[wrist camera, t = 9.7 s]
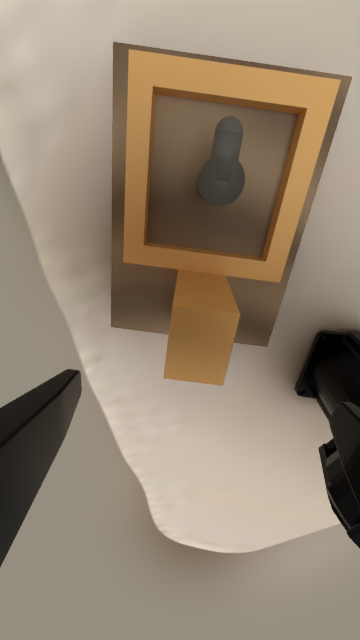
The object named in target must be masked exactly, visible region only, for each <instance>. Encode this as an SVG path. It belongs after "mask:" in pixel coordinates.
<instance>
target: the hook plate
mask: <svg viewBox="0 0 360 640" xmlns="http://www.w3.org/2000/svg"><path fill="white" fill-rule="evenodd" d="M129 49H131V50H138V51H145V52H152V53H159V54H166V55H173V56H180V57H186V58H193V59H200V60H207V61H214V62H221V63H228V64H235V65H242V66H249V67H255V68H262V69H269V70H276V71H283V72H290V73H297V74H304V75H311V76H318V77H324V78H331V79H338V80H341V82H340V85H339V89H338V92H337V95H336V99H335V102H334V105H333V108H332V112H331V115H330V118H329V122H328V125H327V128H326V132H325V135H324V138H323V142H322V145H321V148H320V151H319V155H318V158H317V161H316V165H315V168H314V171H313V175H312V178H311V181H310V185H309V188H308V191H307V195H306V198H305V201H304V204H303V208H302V211H301V214H300V218H299V221H298V224H297V228H296V231H295V234H294V238H293V241H292V244H291V247H290V251H289V254H288V257H287V261H286V264H285V267H284V271H283V274H282V277H281V281H280V283H278V282H270V281H263V280H255V279H247V278H240V277H232V276H226V278H227V281H228V284H229V286H230V289H231V291H232V294H233V296H234V299H235V302H236V304H237V307H238V309H239V312H240V318H239V322H238V326H237V330H236V334H235V338H234V343H242V344H250V345H258V346H266V347H267V345H268V342H269V339H270V336H271V333H272V329H273V326H274V323H275V320H276V317H277V314H278V310H279V307H280V304H281V301H282V298H283V295H284V291H285V288H286V285H287V282H288V279H289V276H290V272H291V269H292V266H293V263H294V260H295V257H296V253H297V250H298V247H299V244H300V241H301V238H302V234H303V231H304V228H305V225H306V222H307V219H308V215H309V212H310V209H311V206H312V203H313V200H314V196H315V193H316V190H317V187H318V184H319V181H320V177H321V174H322V171H323V168H324V165H325V162H326V158H327V155H328V152H329V149H330V146H331V143H332V139H333V136H334V133H335V130H336V127H337V124H338V120H339V117H340V114H341V111H342V108H343V105H344V101H345V98H346V95H347V92H348V89H349V86H350V82H351V79H352V77H351V76H344V75H337V74H330V73H323V72H316V71H309V70H303V69H296V68H289V67H282V66H275V65H268V64H262V63H255V62H248V61H241V60H234V59H227V58H220V57H214V56H207V55H200V54H193V53H186V52H179V51H173V50H166V49H159V48H152V47H145V46H138V45H131V44H125V43H118V42H113V153H112V284H111V327H116V328H123V329H131V330H139V331H147V332H155V333H163V334H169V330H170V321H171V313H172V305H173V299H174V293H175V287H176V281H177V275H178V269H171V268H163V267H155V266H148V265H140V264H132V263H125V262H123V249H124V211H125V173H126V136H127V98H128V60H129ZM298 115H299V114H293V113H286V112H279V111H272V110H264V109H257V108H250V107H243V106H236V105H229V104H222V103H215V102H208V101H201V100H194V99H187V98H180V97H173V96H166V95H159V94H156V97H155V113H154V128H153V144H152V160H151V176H150V191H149V207H148V223H147V239H146V242H150V243H158V244H166V245H173V246H181V247H188V248H196V249H203V250H211V251H219V252H226V253H234V254H241V255H249V256H256V257H262V254H263V250H264V246H265V242H266V238H267V234H268V231H269V227H270V223H271V219H272V215H273V211H274V207H275V203H276V200H277V196H278V192H279V188H280V184H281V180H282V176H283V173H284V169H285V165H286V161H287V157H288V153H289V149H290V145H291V142H292V138H293V134H294V130H295V126H296V122H297V118H298Z"/></svg>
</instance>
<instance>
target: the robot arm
mask: <svg viewBox="0 0 360 640" xmlns="http://www.w3.org/2000/svg"><path fill="white" fill-rule="evenodd" d="M324 336H326V337H325V338H324V339H322V337H324ZM300 390H302V391H300ZM81 391H82V387H81V373H80V371H79V370H73V369H67V370H65V371H63V372H61V373H60V374H58V375H56V376H55V377H53V378H51V379H49V380H48V381H46V382H44V383H43V384H41V385H39V386H37V387H36V388H34V389H32V390H31V391H29V392H27V393H25V394H24V395H22V396H20V397H18V398H17V399H15V400H13V401H12V402H10V403H8V404H6V405H5V406H3V407H2V408H0V567H1V565H2V563H3V561H4V559H5V557H6V555H7V553H8V551H9V549H10V547H11V545H12V543H13V541H14V539H15V537H16V535H17V533H18V531H19V529H20V527H21V525H22V523H23V521H24V519H25V517H26V515H27V513H28V511H29V509H30V507H31V505H32V503H33V501H34V499H35V497H36V495H37V493H38V491H39V489H40V487H41V485H42V483H43V481H44V479H45V477H46V475H47V473H48V470H49V469H50V467H51V465H52V462H53V461H54V459H55V457H56V455H57V453H58V451H59V448H60V447H61V445H62V442H63V440H64V438H65V436H66V434H67V431H68V428H69V426H70V423H71V420H72V417H73V415H74V412H75V409H76V407H77V404H78V401H79V398H80V396H81ZM295 391H296V393H297V395H298V396H303V397H311V398H316V400H317V402H318V404H319V405H320V407H321V409H322V410H323V412H324V414H325V415H326V417H327V419H328V420H329V424H330V428H331V431H332V434H333V437H334V438H333V439H332V440H331V441H329V442H328V443H327V444H323V445H322V446H320V447H319V453H320V458H321V463H322V468H323V473H324V479H325V484H326V489H327V494H328V498H329V501H330V504H331V507H332V510H333V512H334V513H335V514H336V516H337V517H338V519H339V521H340V522H341V524H342V525H343V526H344V527H345V529H346V530H347V534H348V536H349V537H350V538H351V539H352V540H353V542H354V543H355V544H356V545H357V546H358V547H359V548H360V333H356V332H349V333H347V334H345V333H338V332H330V331H321V332H319V333H318V334H317V336H316V338H315V341H314V343H313V346H312V348H311V351H310V353H309V356H308V358H307V361H306V363H305V366H304V368H303V370H302V373H301V375H300V378H299V380H298V383H297V385H296V388H295Z"/></svg>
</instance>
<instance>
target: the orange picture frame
mask: <svg viewBox="0 0 360 640" xmlns="http://www.w3.org/2000/svg"><path fill="white" fill-rule="evenodd" d="M340 82H341V80H338V79H331V78H324V77H318V76H311V75H304V74H297V73H290V72H283V71H276V70H269V69H262V68H255V67H249V66H242V65H235V64H228V63H221V62H214V61H207V60H200V59H193V58H186V57H180V56H173V55H166V54H159V53H152V52H145V51H138V50H131V49H129V60H128V98H127V136H126V173H125V211H124V249H123V262H125V263H132V264H140V265H148V266H155V267H163V268H171V269H178V275H177V281H176V287H175V293H174V299H173V305H172V313H171V321H170V330H169V338H168V347H167V355H166V363H165V372H164V378H165V379H174V380H182V381H190V382H198V383H206V384H214V385H222V386H223V383H224V379H225V375H226V371H227V367H228V363H229V359H230V355H231V351H232V346H233V342H234V338H235V334H236V330H237V326H238V322H239V318H240V312H239V309H238V307H237V304H236V302H235V299H234V296H233V294H232V291H231V289H230V286H229V284H228V281H227V278H226V276H232V277H240V278H247V279H255V280H263V281H270V282H278V283H280V281H281V277H282V274H283V271H284V267H285V264H286V261H287V257H288V254H289V251H290V247H291V244H292V241H293V238H294V234H295V231H296V228H297V224H298V221H299V218H300V214H301V211H302V208H303V204H304V201H305V198H306V195H307V191H308V188H309V185H310V181H311V178H312V175H313V171H314V168H315V165H316V161H317V158H318V155H319V151H320V148H321V145H322V142H323V138H324V135H325V132H326V128H327V125H328V122H329V118H330V115H331V112H332V108H333V105H334V102H335V99H336V95H337V92H338V89H339V85H340ZM156 94H159V95H166V96H173V97H180V98H187V99H194V100H201V101H208V102H215V103H222V104H229V105H236V106H243V107H250V108H257V109H264V110H272V111H279V112H286V113H293V114H299V115H298V118H297V122H296V126H295V130H294V134H293V138H292V142H291V145H290V149H289V153H288V157H287V161H286V165H285V169H284V173H283V176H282V180H281V184H280V188H279V192H278V196H277V200H276V203H275V207H274V211H273V215H272V219H271V223H270V227H269V231H268V234H267V238H266V242H265V246H264V250H263V254H262V257H256V256H249V255H241V254H234V253H226V252H219V251H211V250H203V249H196V248H188V247H181V246H173V245H166V244H158V243H150V242H146V239H147V223H148V207H149V191H150V176H151V160H152V144H153V128H154V113H155V97H156Z"/></svg>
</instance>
